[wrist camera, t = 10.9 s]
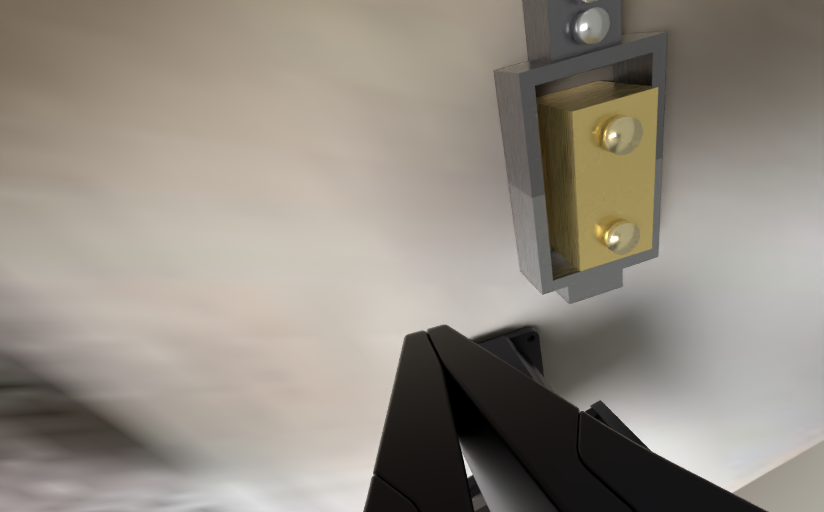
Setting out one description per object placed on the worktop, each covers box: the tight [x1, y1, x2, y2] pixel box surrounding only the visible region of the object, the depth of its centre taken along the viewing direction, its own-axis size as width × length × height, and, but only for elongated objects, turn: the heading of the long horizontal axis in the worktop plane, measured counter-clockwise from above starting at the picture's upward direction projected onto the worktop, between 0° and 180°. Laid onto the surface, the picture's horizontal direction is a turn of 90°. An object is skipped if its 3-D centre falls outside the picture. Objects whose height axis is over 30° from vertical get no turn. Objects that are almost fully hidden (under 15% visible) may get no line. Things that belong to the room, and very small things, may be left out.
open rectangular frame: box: [494, 0, 667, 304], centre depth 20 cm, size 15×6×3 cm, turn 13°
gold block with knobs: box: [536, 81, 658, 271], centre depth 19 cm, size 7×4×5 cm, turn 13°
